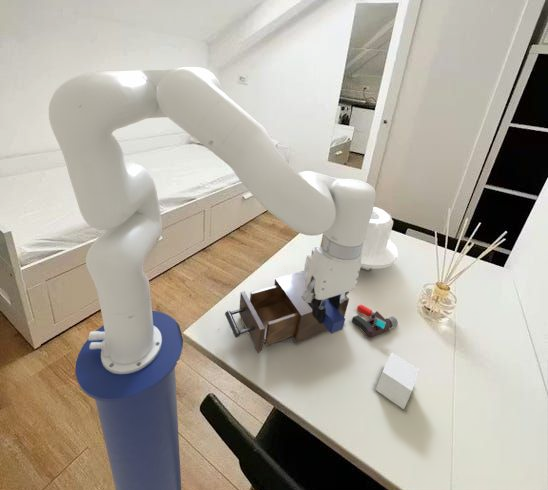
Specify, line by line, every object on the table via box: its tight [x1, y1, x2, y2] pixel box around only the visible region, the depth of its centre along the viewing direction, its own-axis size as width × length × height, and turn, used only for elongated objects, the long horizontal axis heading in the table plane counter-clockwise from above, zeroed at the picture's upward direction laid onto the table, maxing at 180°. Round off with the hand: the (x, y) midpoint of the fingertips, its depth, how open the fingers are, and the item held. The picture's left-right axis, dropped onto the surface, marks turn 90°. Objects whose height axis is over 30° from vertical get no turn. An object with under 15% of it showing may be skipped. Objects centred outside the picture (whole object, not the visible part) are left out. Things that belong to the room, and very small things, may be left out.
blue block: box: [308, 298, 346, 335], centre depth 61 cm, size 8×3×3 cm, turn 27°
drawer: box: [224, 285, 299, 353], centre depth 73 cm, size 18×12×7 cm
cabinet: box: [273, 270, 350, 343], centre depth 79 cm, size 15×14×9 cm
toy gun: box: [351, 304, 399, 339], centre depth 80 cm, size 10×12×5 cm
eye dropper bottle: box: [303, 245, 319, 271], centre depth 93 cm, size 4×6×12 cm
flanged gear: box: [360, 206, 399, 271], centre depth 103 cm, size 25×25×19 cm
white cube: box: [375, 351, 420, 410], centre depth 63 cm, size 6×6×6 cm
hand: (324, 315), depth 62 cm, fingers closed on blue block, 3 cm apart
